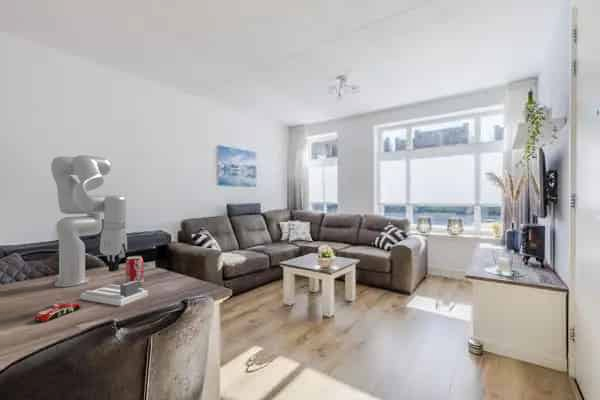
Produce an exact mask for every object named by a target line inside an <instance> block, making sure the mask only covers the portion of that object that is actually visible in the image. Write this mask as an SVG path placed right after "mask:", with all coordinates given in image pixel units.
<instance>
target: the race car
mask: <svg viewBox="0 0 600 400" xmlns="http://www.w3.org/2000/svg"><path fill="white" fill-rule="evenodd" d="M80 308H81V305H80V303H79V302H67V303H59V302H58V303H54V304H51V305H49V306H46V307H45V308H42V309H41V310H39V311H38V312H36V313H35V314H34V315H35V316H34V321H35V322H49V321H53V320H56V319H58V318H60V317H62V316H65V315H67V314H70V313H73V312H76V311H79V309H80Z"/></svg>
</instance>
